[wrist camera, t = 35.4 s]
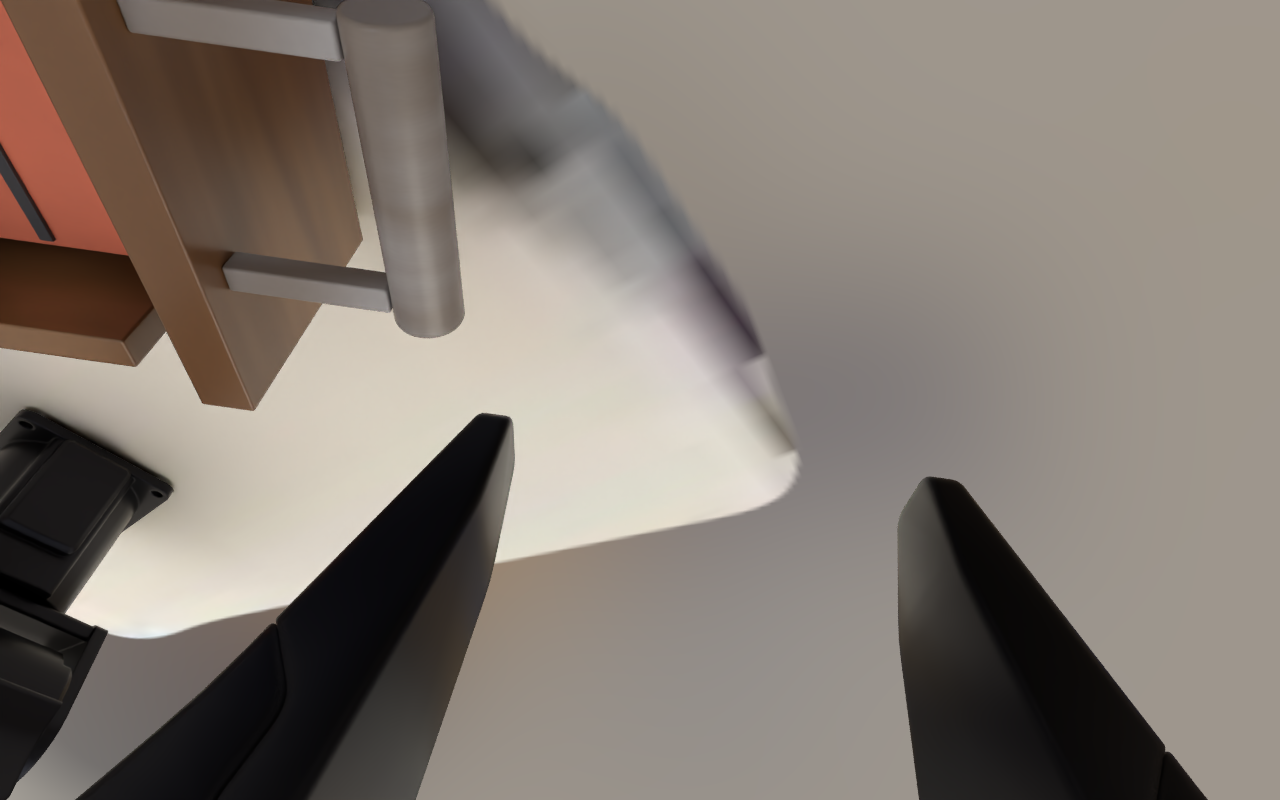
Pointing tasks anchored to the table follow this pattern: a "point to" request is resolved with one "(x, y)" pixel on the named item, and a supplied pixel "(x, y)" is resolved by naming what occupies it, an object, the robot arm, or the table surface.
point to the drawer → (235, 181)
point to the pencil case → (42, 164)
